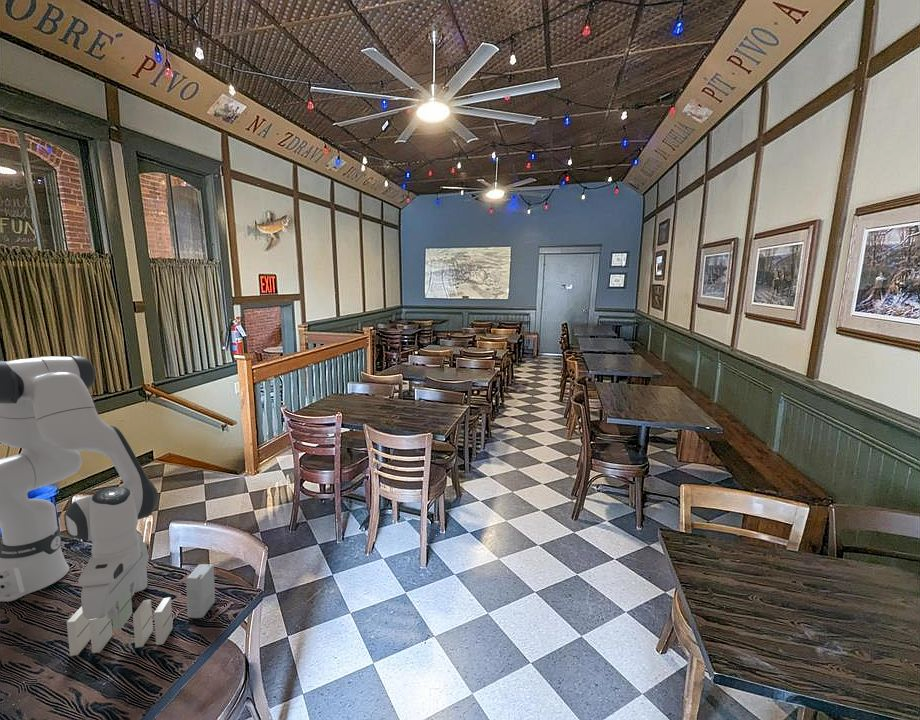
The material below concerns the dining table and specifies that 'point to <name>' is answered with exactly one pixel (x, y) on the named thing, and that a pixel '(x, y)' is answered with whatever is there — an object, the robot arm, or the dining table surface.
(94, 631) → the domino
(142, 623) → the domino
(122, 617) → the pale green domino
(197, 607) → the skincare box
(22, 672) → the dining table surface
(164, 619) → the domino
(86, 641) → the domino
